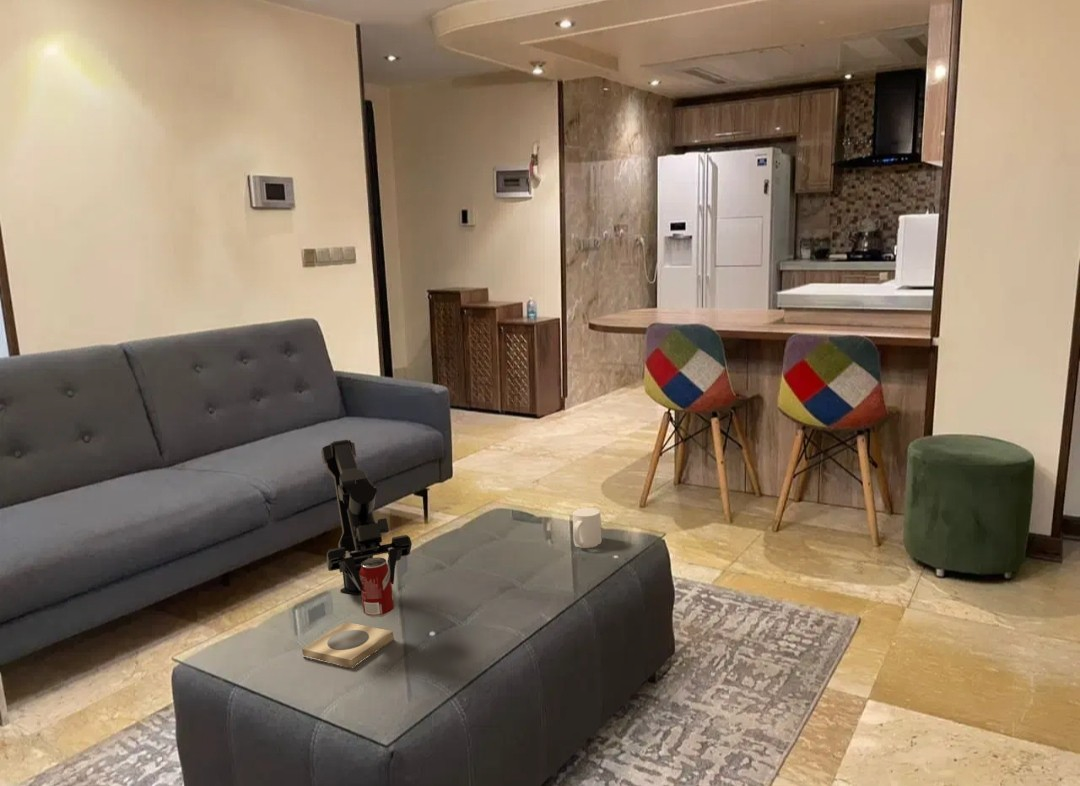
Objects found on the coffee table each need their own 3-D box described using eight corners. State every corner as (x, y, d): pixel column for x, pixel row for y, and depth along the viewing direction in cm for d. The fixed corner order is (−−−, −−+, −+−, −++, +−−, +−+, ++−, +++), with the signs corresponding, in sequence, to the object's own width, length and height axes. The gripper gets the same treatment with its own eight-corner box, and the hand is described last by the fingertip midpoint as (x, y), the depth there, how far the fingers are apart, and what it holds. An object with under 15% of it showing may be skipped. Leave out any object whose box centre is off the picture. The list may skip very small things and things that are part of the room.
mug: (581, 505, 240) (605, 508, 236) (583, 535, 241) (607, 538, 237) (562, 518, 229) (587, 521, 225) (564, 549, 231) (589, 552, 227)
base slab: (303, 657, 177) (302, 648, 176) (346, 629, 189) (345, 621, 188) (352, 668, 170) (350, 659, 170) (393, 639, 182) (392, 630, 182)
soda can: (380, 621, 176) (375, 569, 174) (357, 616, 180) (351, 565, 178) (400, 608, 182) (395, 558, 180) (377, 604, 186) (372, 554, 184)
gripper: (322, 515, 177) (335, 580, 169) (405, 501, 184) (421, 562, 176) (322, 539, 186) (334, 601, 178) (401, 524, 193) (416, 583, 184)
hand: (377, 586), depth 179 cm, fingers closed on soda can, 7 cm apart
